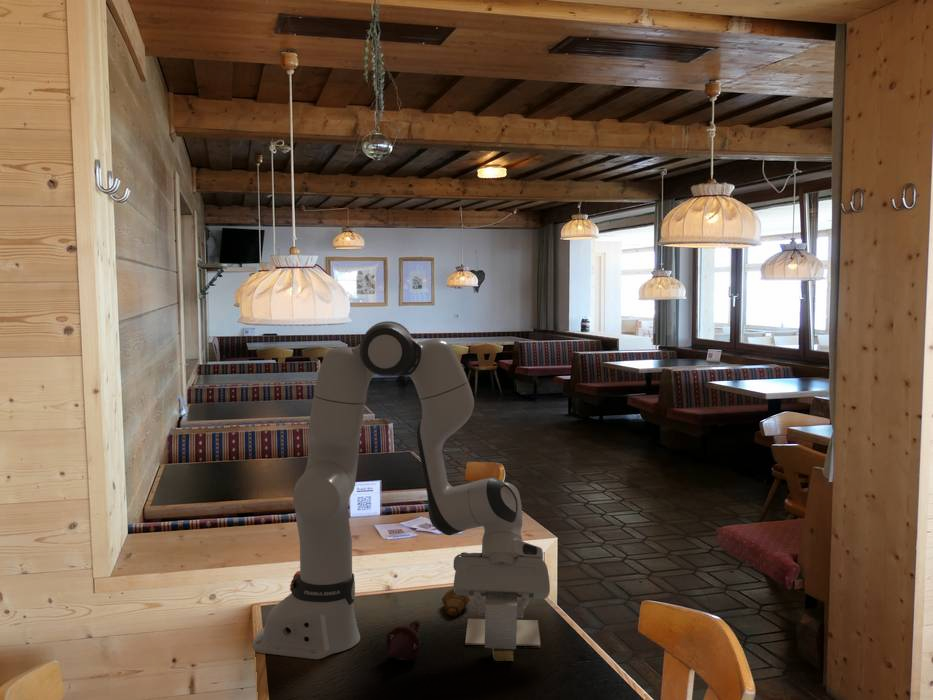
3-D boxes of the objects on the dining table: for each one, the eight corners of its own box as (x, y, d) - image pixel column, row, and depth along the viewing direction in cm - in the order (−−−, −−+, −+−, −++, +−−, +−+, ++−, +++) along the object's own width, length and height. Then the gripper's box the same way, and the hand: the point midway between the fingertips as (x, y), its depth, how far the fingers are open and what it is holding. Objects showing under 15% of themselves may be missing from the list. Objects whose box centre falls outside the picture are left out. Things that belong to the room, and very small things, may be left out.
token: (493, 662, 162) (493, 650, 162) (492, 654, 166) (492, 642, 166) (513, 662, 162) (513, 650, 162) (511, 653, 166) (511, 642, 166)
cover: (484, 647, 161) (485, 604, 160) (485, 634, 167) (486, 592, 167) (516, 649, 160) (517, 605, 160) (515, 635, 167) (516, 593, 166)
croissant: (466, 620, 183) (466, 599, 183) (437, 618, 184) (437, 597, 184) (473, 598, 197) (473, 578, 196) (446, 597, 198) (446, 577, 197)
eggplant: (411, 646, 154) (435, 623, 169) (377, 632, 157) (404, 610, 171) (402, 679, 155) (427, 654, 169) (368, 665, 157) (396, 641, 171)
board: (465, 645, 169) (465, 643, 169) (467, 621, 182) (467, 618, 182) (540, 647, 169) (540, 644, 169) (537, 622, 182) (537, 620, 182)
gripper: (453, 545, 170) (449, 607, 161) (549, 548, 169) (551, 611, 160) (454, 559, 175) (450, 620, 166) (547, 562, 174) (549, 623, 165)
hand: (501, 615), depth 163 cm, fingers closed on cover, 6 cm apart
